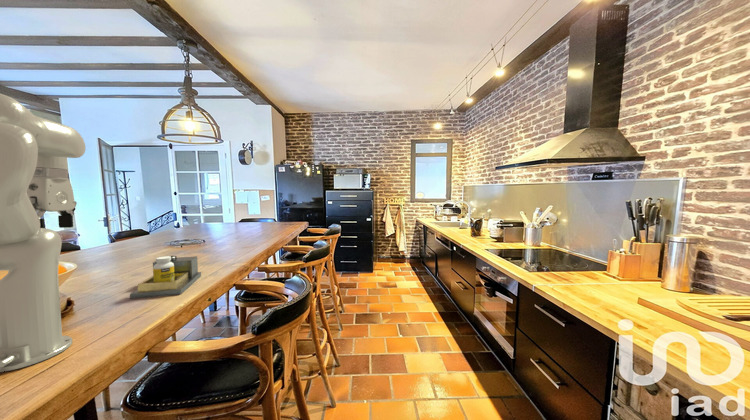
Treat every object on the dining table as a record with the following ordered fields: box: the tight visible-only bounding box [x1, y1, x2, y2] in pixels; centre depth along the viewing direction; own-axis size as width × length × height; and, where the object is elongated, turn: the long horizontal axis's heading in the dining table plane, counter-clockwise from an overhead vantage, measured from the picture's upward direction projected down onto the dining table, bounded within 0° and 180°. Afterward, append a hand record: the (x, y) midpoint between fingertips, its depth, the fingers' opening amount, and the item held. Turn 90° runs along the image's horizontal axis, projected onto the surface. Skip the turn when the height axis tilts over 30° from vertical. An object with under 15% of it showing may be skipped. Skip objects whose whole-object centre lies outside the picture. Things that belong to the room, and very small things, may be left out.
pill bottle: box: [152, 255, 174, 283], centre depth 99 cm, size 6×6×12 cm
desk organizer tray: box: [129, 255, 202, 300], centre depth 103 cm, size 22×16×11 cm
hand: (52, 229), depth 75 cm, fingers open, 9 cm apart
